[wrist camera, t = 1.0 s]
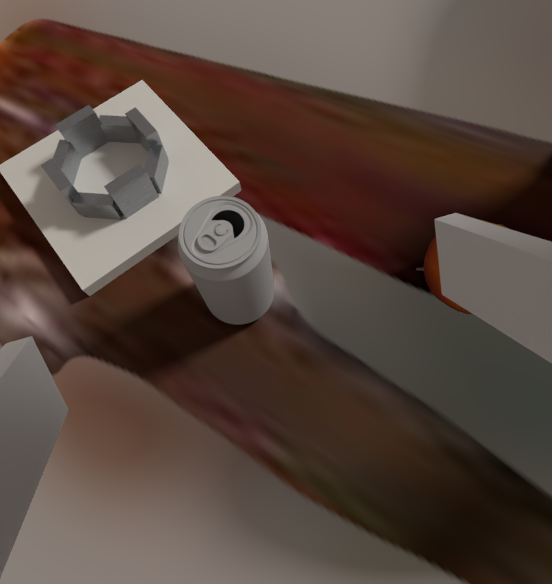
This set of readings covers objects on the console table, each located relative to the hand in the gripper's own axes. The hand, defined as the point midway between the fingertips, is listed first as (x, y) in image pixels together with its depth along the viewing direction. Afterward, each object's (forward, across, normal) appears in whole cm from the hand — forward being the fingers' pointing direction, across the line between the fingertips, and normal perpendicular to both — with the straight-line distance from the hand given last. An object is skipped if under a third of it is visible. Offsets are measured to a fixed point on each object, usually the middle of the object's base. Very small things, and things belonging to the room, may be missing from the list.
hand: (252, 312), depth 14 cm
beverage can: (+26, 0, -9) cm, 27 cm away
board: (+37, -8, +2) cm, 38 cm away
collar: (+36, -8, +3) cm, 37 cm away
